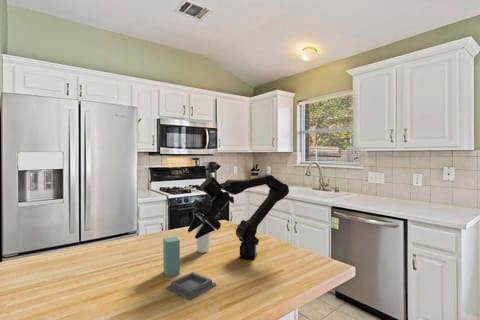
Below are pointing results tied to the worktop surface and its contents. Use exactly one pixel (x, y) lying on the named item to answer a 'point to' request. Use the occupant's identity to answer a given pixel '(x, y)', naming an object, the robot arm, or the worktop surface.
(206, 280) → the socket holder
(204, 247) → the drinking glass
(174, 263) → the teal block
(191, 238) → the worktop surface
